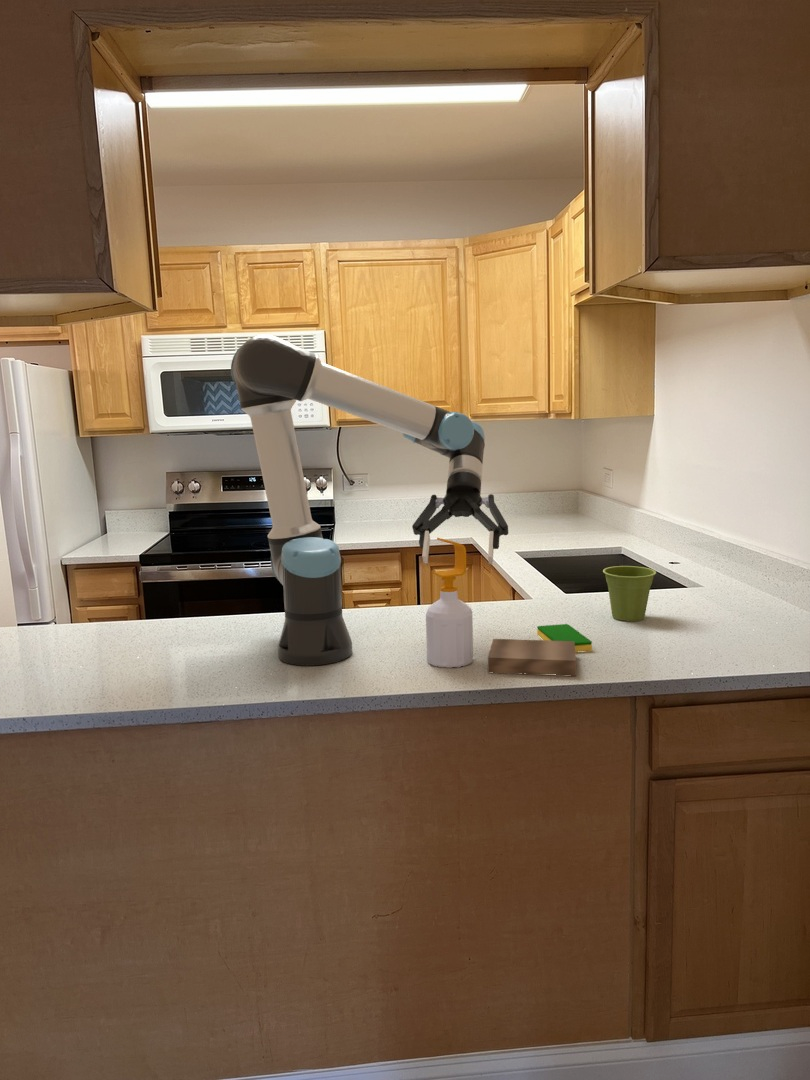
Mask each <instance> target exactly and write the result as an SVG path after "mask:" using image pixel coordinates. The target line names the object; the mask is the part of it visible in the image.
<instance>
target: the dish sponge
mask: <svg viewBox="0 0 810 1080" xmlns="http://www.w3.org/2000/svg"><path fill="white" fill-rule="evenodd" d="M536 632H537V633H536V635H537V634H538V635H539V636H540V637H541V638H542V639H543V640H547V641H574V643H575V653H579V652H578V651H588V652H592V651H591V650H592V649H593V645H592V643H593V641H592V640H590V639H589V638H587V637H586V636H584V635H583V634H582V633H581V632H579V631H578V630H577V629H575V628H574V626H571V625H569V624H568V623H565V624H549V625H538V626H537V631H536ZM538 635H537V636H538ZM539 636H538V637H539ZM540 637H539V638H540ZM541 638H540V639H541ZM542 639H541V640H542Z"/></svg>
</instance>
